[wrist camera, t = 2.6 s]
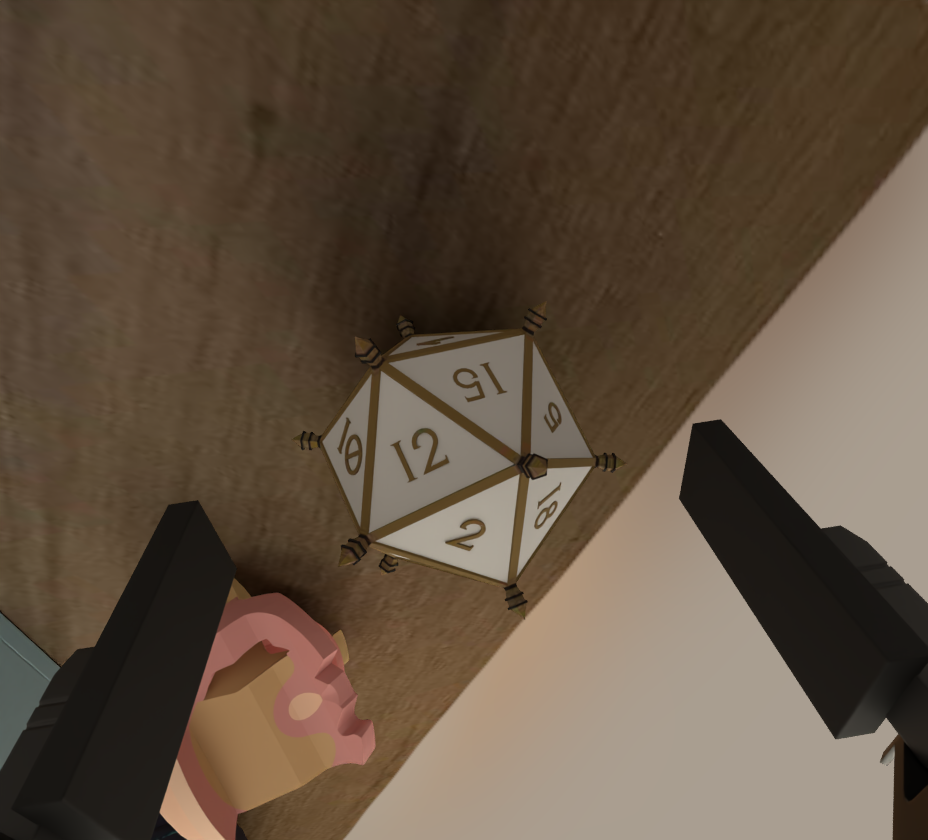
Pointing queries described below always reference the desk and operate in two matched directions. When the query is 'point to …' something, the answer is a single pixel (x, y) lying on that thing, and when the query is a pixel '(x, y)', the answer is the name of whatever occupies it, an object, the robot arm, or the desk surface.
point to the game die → (457, 453)
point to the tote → (19, 683)
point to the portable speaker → (167, 836)
